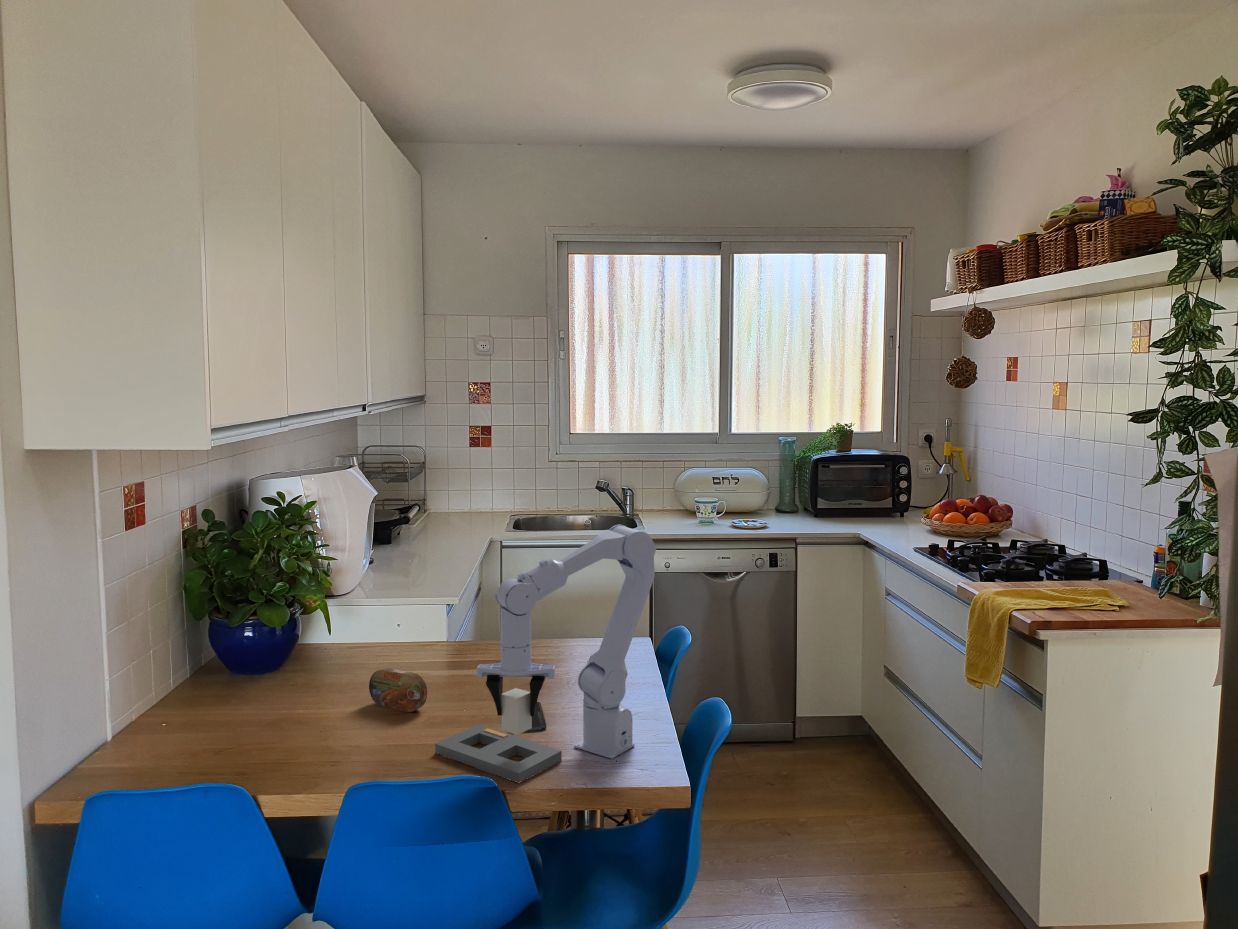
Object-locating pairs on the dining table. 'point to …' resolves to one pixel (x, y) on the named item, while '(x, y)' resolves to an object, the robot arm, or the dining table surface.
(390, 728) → the dining table surface
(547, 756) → the socket plate
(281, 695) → the dining table surface
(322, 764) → the dining table surface
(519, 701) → the plug
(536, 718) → the phone
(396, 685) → the tin
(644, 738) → the dining table surface
